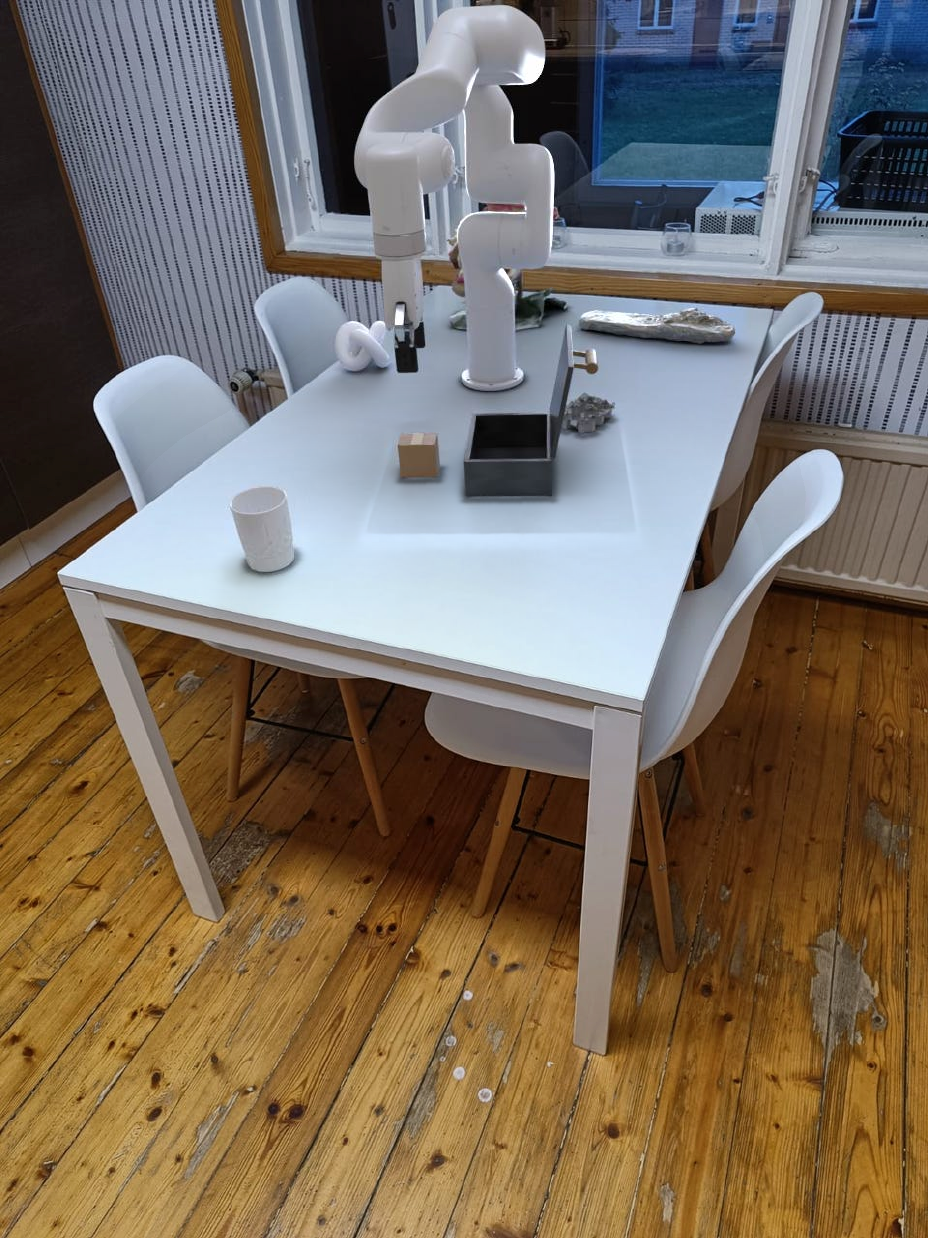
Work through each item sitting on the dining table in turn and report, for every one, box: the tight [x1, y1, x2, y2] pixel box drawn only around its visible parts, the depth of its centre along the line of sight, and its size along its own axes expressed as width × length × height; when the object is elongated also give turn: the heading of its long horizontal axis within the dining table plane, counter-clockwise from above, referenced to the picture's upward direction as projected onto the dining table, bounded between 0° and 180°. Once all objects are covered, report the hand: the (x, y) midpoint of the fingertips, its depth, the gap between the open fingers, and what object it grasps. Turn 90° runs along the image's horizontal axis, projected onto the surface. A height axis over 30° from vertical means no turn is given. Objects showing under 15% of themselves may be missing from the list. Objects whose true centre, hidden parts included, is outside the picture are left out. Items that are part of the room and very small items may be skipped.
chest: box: [463, 411, 553, 498], centre depth 140 cm, size 14×18×7 cm
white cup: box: [228, 485, 295, 573], centre depth 122 cm, size 8×8×10 cm
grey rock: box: [561, 392, 616, 434], centre depth 155 cm, size 11×8×4 cm
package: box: [397, 432, 441, 478], centre depth 142 cm, size 6×4×7 cm
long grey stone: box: [578, 307, 736, 345], centre depth 191 cm, size 35×5×10 cm
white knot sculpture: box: [334, 320, 390, 372], centre depth 183 cm, size 11×12×9 cm
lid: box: [549, 324, 599, 459], centre depth 133 cm, size 14×18×5 cm
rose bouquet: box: [446, 203, 569, 331], centre depth 198 cm, size 26×29×30 cm
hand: (411, 359), depth 132 cm, fingers open, 9 cm apart
